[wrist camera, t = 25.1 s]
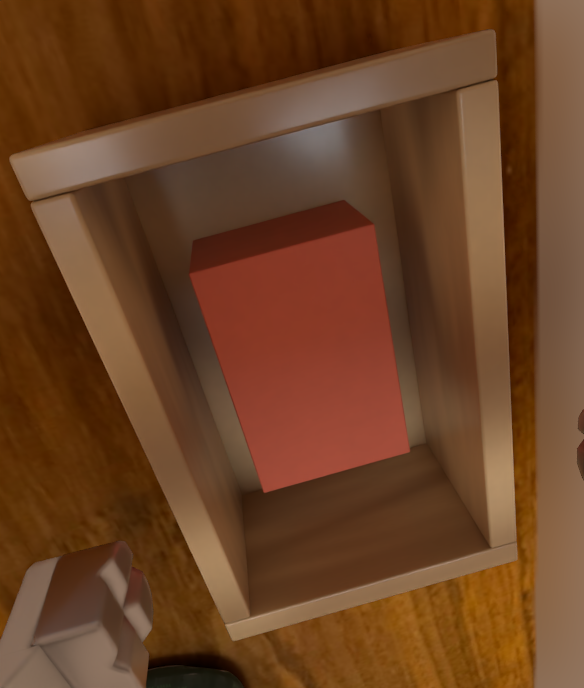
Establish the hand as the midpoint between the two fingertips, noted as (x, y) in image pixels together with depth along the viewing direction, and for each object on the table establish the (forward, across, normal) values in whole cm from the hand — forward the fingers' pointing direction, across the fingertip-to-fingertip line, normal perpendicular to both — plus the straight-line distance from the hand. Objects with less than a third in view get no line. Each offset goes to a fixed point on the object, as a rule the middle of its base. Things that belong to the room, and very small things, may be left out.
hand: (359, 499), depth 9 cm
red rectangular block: (+8, 0, 0) cm, 8 cm away
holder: (+9, 0, 0) cm, 9 cm away
